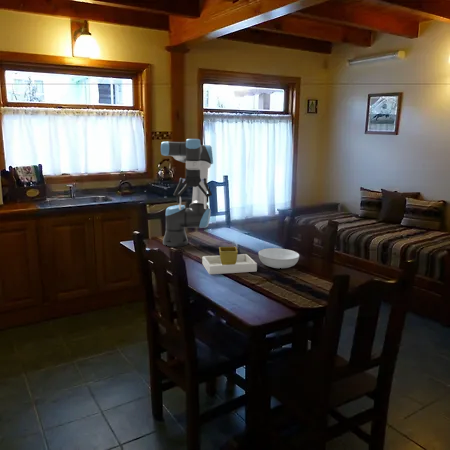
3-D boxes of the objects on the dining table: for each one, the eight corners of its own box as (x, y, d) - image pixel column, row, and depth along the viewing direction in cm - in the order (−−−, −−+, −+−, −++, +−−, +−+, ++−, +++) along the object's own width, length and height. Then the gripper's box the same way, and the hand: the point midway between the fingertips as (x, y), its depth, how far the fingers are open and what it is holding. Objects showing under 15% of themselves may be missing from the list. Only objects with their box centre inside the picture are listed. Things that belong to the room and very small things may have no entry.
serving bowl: (297, 274, 210) (298, 260, 208) (255, 270, 214) (256, 257, 212) (299, 261, 230) (300, 249, 228) (260, 258, 234) (261, 246, 232)
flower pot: (219, 268, 212) (220, 251, 210) (218, 263, 221) (219, 246, 219) (237, 268, 213) (237, 251, 211) (235, 263, 221) (236, 246, 219)
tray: (202, 263, 222) (202, 256, 221) (246, 261, 228) (246, 254, 227) (209, 274, 206) (209, 266, 205) (256, 271, 212) (256, 263, 211)
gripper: (170, 169, 216) (170, 210, 221) (217, 169, 223) (217, 209, 227) (168, 168, 223) (168, 208, 228) (214, 168, 230) (213, 207, 234)
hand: (192, 209), depth 228 cm, fingers open, 13 cm apart
